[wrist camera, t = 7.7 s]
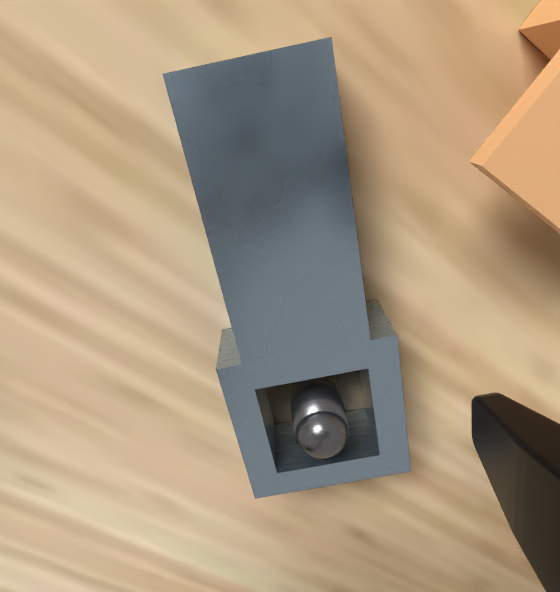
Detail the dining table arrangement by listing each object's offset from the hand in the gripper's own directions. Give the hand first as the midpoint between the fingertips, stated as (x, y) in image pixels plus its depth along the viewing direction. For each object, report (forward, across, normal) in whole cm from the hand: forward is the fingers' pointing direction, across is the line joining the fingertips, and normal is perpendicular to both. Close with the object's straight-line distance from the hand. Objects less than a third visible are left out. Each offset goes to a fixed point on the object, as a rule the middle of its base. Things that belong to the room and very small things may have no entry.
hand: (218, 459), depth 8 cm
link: (+10, -2, +1) cm, 10 cm away
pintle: (+10, -2, +6) cm, 11 cm away
